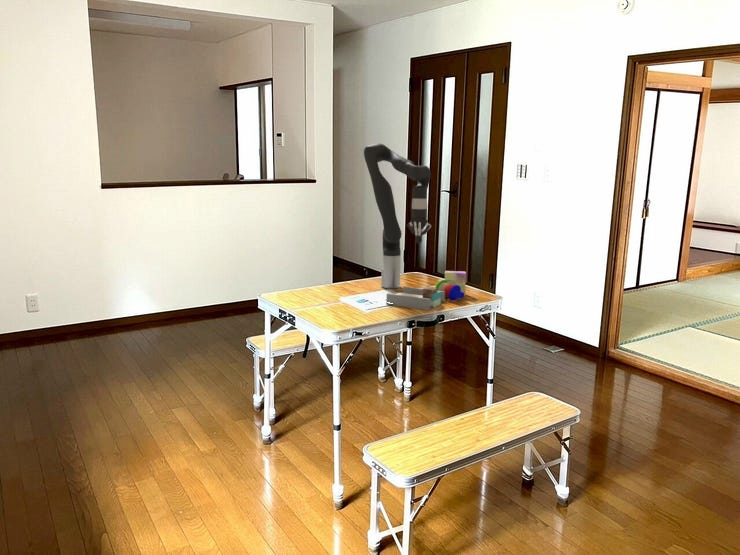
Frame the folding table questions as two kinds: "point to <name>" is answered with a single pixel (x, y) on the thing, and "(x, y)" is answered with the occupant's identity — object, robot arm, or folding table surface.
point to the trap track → (416, 298)
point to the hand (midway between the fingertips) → (418, 243)
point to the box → (456, 279)
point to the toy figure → (450, 290)
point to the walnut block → (429, 292)
